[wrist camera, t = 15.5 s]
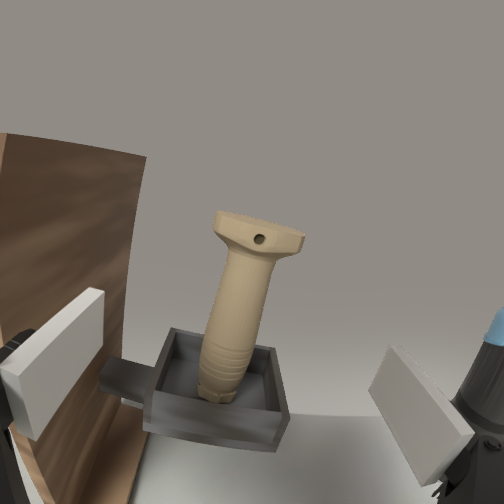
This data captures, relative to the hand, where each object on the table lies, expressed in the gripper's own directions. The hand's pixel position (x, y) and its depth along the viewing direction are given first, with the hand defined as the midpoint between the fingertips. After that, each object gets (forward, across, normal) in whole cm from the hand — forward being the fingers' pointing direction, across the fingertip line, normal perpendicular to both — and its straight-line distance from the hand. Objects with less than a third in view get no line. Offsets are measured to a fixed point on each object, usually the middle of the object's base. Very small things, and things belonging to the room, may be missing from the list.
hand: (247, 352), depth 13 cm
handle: (+10, 0, -11) cm, 15 cm away
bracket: (+6, -3, -21) cm, 22 cm away
